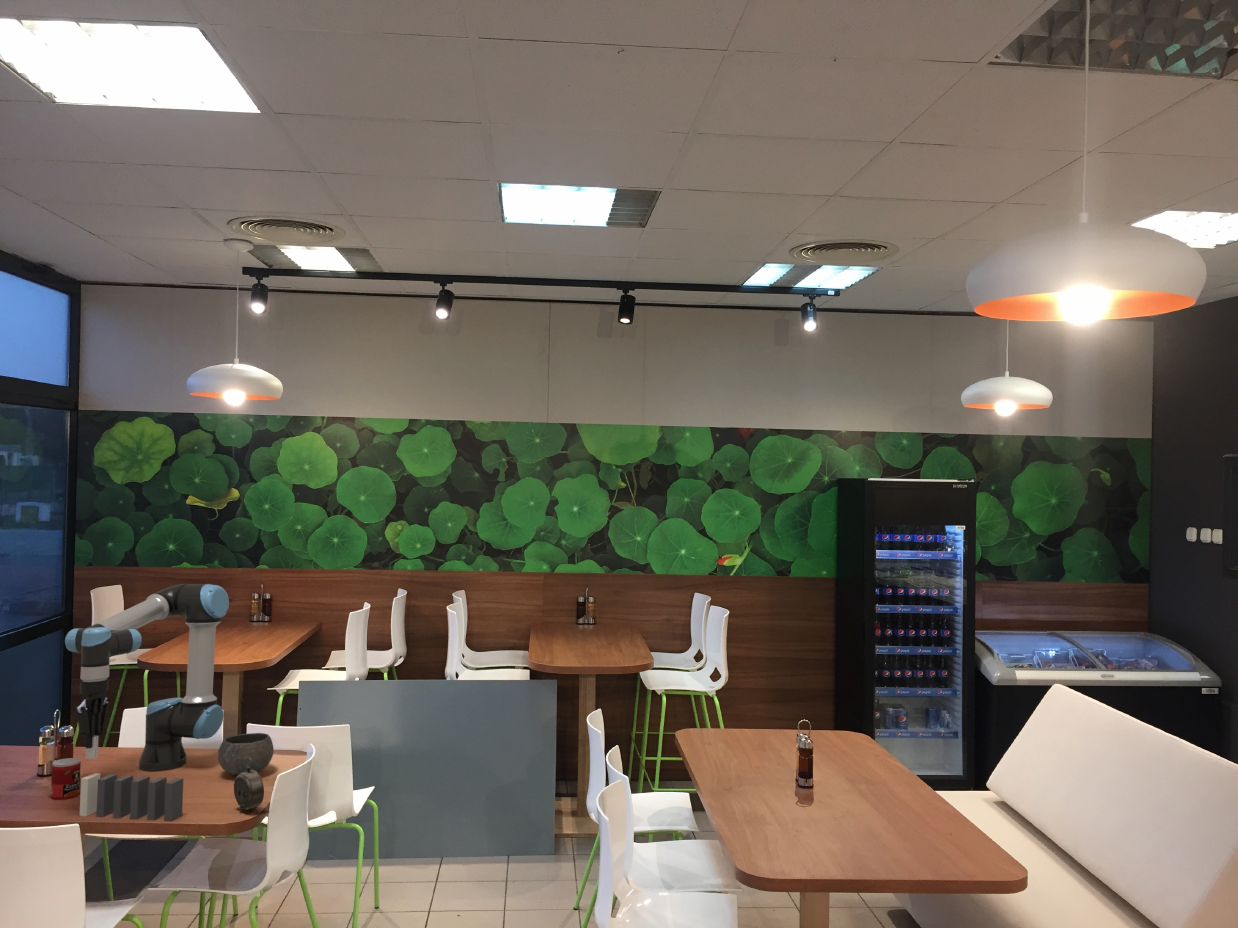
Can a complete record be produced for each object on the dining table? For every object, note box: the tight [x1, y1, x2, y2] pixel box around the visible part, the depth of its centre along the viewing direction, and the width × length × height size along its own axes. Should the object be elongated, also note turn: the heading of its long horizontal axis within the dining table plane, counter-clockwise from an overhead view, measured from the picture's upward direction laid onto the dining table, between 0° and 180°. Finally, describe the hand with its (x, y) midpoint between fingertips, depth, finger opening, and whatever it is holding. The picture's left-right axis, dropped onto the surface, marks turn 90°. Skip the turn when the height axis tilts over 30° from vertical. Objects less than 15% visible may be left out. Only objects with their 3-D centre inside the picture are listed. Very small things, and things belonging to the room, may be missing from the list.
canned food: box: [50, 757, 82, 801], centre depth 278 cm, size 8×8×11 cm
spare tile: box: [79, 773, 101, 817], centre depth 263 cm, size 2×5×11 cm, turn 172°
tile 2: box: [96, 774, 118, 818], centre depth 263 cm, size 2×5×11 cm, turn 172°
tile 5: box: [146, 776, 168, 821], centre depth 260 cm, size 2×5×11 cm, turn 172°
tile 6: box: [163, 777, 184, 822], centre depth 260 cm, size 2×5×11 cm, turn 172°
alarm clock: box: [233, 758, 265, 815], centre depth 266 cm, size 11×5×16 cm, turn 50°
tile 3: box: [112, 774, 134, 819], centre depth 262 cm, size 2×5×11 cm, turn 172°
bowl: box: [217, 732, 275, 777], centre depth 303 cm, size 18×18×13 cm
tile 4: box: [129, 775, 151, 820], centre depth 261 cm, size 2×5×11 cm, turn 172°
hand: (91, 757), depth 264 cm, fingers closed
